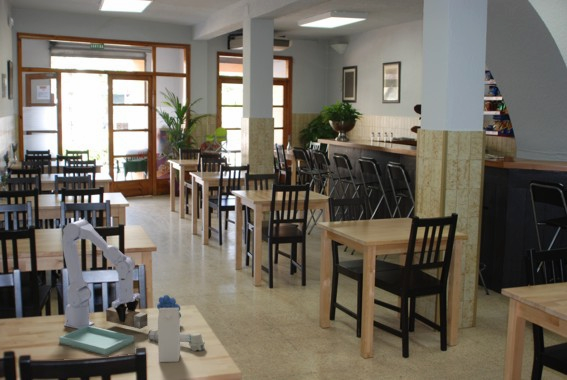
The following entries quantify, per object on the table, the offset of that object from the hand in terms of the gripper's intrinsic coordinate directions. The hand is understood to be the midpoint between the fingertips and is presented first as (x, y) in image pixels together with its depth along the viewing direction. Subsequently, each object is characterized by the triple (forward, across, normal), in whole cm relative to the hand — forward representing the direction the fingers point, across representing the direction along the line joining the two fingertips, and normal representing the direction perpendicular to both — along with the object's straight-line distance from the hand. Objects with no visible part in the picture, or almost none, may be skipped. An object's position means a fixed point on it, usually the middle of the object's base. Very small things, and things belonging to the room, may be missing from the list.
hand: (126, 319), depth 260 cm
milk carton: (+4, -15, -34) cm, 37 cm away
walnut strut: (+2, 0, 0) cm, 2 cm away
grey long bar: (+4, -3, -28) cm, 28 cm away
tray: (+4, -17, 0) cm, 17 cm away
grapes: (+4, +14, -10) cm, 18 cm away
